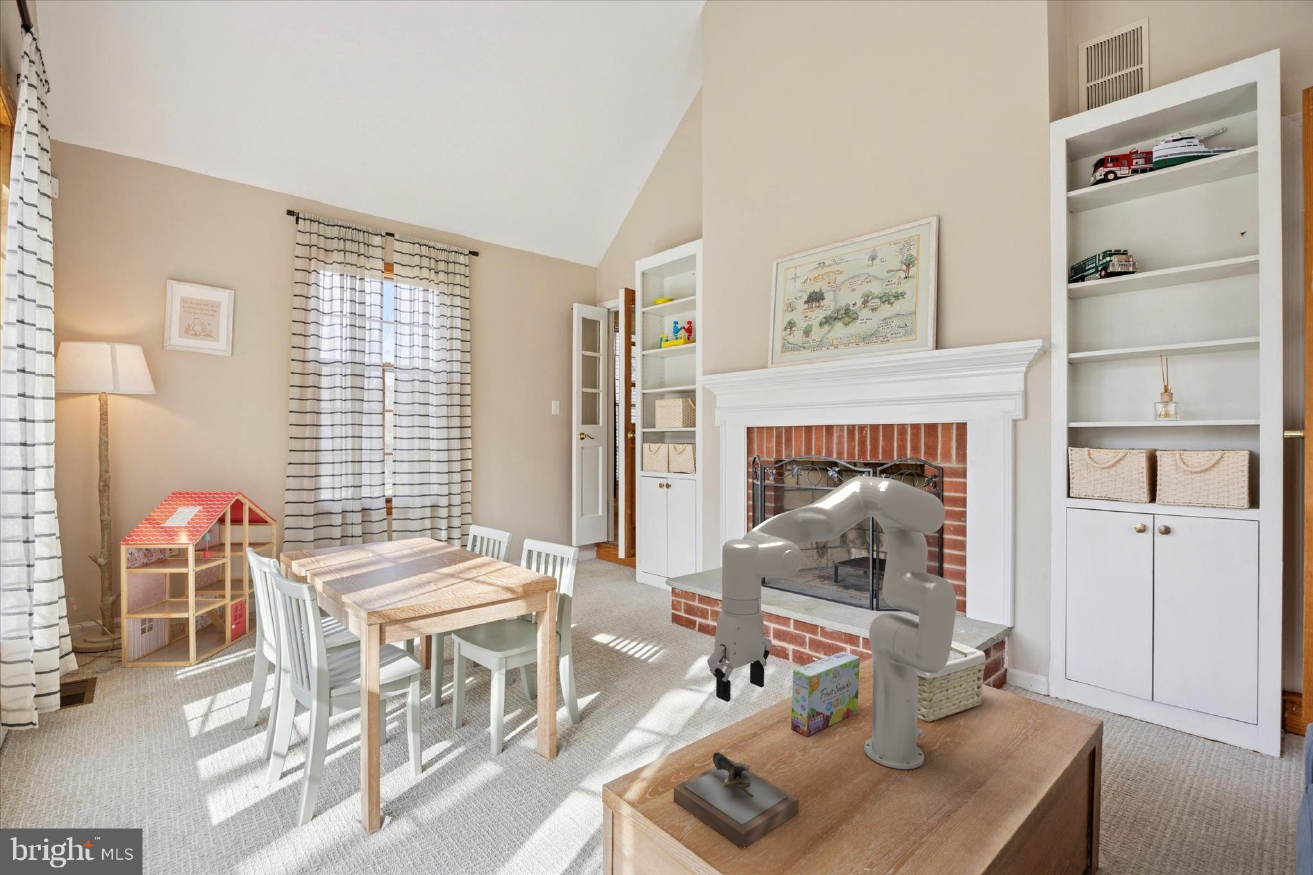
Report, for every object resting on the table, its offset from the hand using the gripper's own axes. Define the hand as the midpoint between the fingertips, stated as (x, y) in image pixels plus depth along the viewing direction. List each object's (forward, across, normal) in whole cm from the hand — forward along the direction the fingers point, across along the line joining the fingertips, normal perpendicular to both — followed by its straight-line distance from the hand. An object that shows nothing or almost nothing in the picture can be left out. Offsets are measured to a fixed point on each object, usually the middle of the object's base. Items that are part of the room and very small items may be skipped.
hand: (740, 691), depth 119 cm
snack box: (+23, -43, -9) cm, 50 cm away
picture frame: (+22, +1, 0) cm, 22 cm away
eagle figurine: (+17, +2, -3) cm, 18 cm away
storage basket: (+23, -74, +3) cm, 77 cm away
